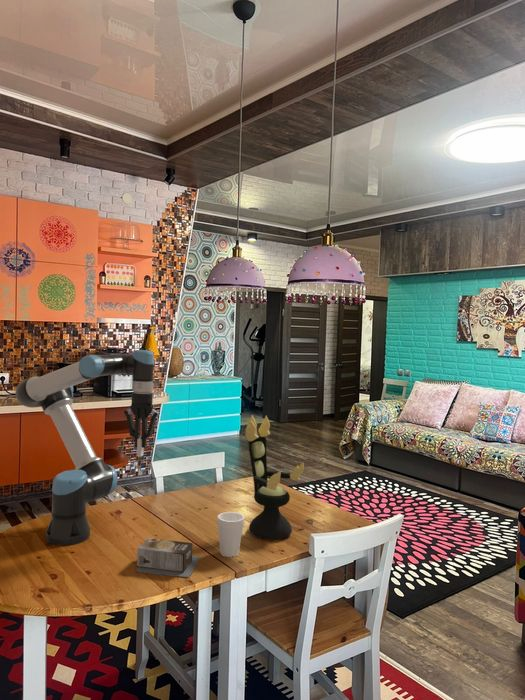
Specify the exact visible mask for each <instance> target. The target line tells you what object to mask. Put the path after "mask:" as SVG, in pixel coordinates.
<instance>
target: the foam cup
mask: <svg viewBox="0 0 525 700" xmlns="http://www.w3.org/2000/svg"><path fill="white" fill-rule="evenodd" d="M245 519H246V518H245V516H244V515H243V514H242V513H240V512H235V511H226V512H221V513H220V514H218V515H217V519H216V520H217V521H216V523H217V529H218V540H219V552H220V555H221V554H222V555H221V556H223V557H225V556H227V557H226V558H233V557H232V556H234V557H237V556H238V555H239V553H240V546H241V542H242V541H241V540H242V535H243V530H244V529H243V528H244V525H245ZM236 555H237V556H236Z"/></svg>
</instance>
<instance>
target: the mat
mask: <svg viewBox="0 0 525 700" xmlns="http://www.w3.org/2000/svg"><path fill="white" fill-rule="evenodd" d="M200 559H201V556H200V555H199V556H197V555H192V562H191V563H190V564H189V566H188V567H187V568H186V570H185V571H184V572H178V571H171V570H163V569H156V568H148V567H141V566H138V568H137V569H136V571H135V573H140V574H147V573H148V574H149V575H158V576H167V577H169V576H170V577H175V576H177V578H185V577H189V578H190V577H191V576H190V575H192V574H191V573H193V572H194V570H195V568H196V567H197V565H198V563H199V562H200ZM195 566H196V567H195ZM178 576H179V577H178Z"/></svg>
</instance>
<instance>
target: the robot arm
mask: <svg viewBox="0 0 525 700" xmlns="http://www.w3.org/2000/svg"><path fill="white" fill-rule="evenodd" d="M154 368H155V354H154V351H152V350H148V349H147V350H146V349H145V350H144V349H135V350H133V353H132V354H125V353H119V352H118V353H116V352H115V353H110V354H90V355H85V356H83V357H82V358H81V359H80V360H79V361H77V362H74V363H71V364H70V365H67V366H64V367H62V368H59V369H56V370H54V371H51V372H48V373H45V374H43V375H42V376H37V375H36V376H32V377H29V378H25V379H22V380H21V382H19V384H17V386H16V388H15V397H16V399H17V402H18V403H19V404H20V405H22V406H24V407H26V408H34V409H35V408H42V411H43V412H44V414H45V415H47V416H50V418H51V420H52V421H53V424H54V426H55V428H56V430H57V431H58V434H59V436H60V438H61V440H62V442H63V444H64V446H65V448H66V450H67V452H68V454H69V456H70V459H71V460H72V462H73V464H74V467H75V469H70V470H64V471H62V472H60V473H58V474H56V476H54V478H53V480H52V488H51V492H52V493H51V494H52V495H51V518H50V521H49V524H48V526H47V530H46V531H45V541H46V542H47V543H48V544H51V545H56V546H68V545H69V546H70V545H76V544H80V543H83V542H85V541H86V540H88V539H89V538H90V536H91V528H90V524H89V521H88V518H87V514H86V513H87V512H86V511H87V504H89V503H91V502H94V501H96V500H99V499H104V498H105V497H107V496H109V495H111V494H112V493H113V492H114V491H115V490H116V488H117V487H118V486H117V485H118V473H117V471H116V469H115V468H114V467H113V465H109V464H106V463H105V462H104V459H103V458H102V457H98V456H97V454H96V452H95V450H94V448H93V446H92V445H91V442H90V441H89V438H88V436H87V435H86V433H85V430H84V428H83V426H82V425H81V423H80V421H79V419H78V417H77V414H76V413H75V411H74V409H73V407H72V405H73V403H74V399H73V398H74V393H73V392H74V390H75V389H74V386H77V385H79V384H81V383H82V384H83V383H85V382H87V381H90V380H94V379H97V378H98V377H99V378H100V377H104V376H117V375H129V376H132V378H131V380H132V381H131V391H132V393H131V404H130V407H129V408H128V409H126V410H124V411H123V413H124V415H125V418H126V421H127V426H128V432H129V436H130V437H132V438H134V447H135V448H136V457H138V458H140V457H141V458H142V457H143V456H144V452H145V451H144V449H145V448H146V446H147V439H148V438H149V439H150V438H151V437H152V435H153V431H154V429H155V425H156V420H157V419H158V416H159V414H160V412H159V411H156V410H155V409H154V405H153V400H154V399H153V396H154V395H153V393H152V392H153V391H154V370H155V369H154ZM133 415H134V418H133ZM150 415H151V418H150V421H149V424H148V420H149V416H150Z"/></svg>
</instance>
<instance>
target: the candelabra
mask: <svg viewBox="0 0 525 700" xmlns="http://www.w3.org/2000/svg"><path fill="white" fill-rule="evenodd" d="M257 427H258V424H257V422H256V420H255V417H254V415H253V414H252V415H251V416H250V420H248V423H247V425H246V428H245V435H244V436H245V438H246V439H247V441H248V444H247V445H248V452H249V459H250V465H251V470H252V472H251V473H252V479H253V487H254V488H253V489H254V494H253V495H254V496H253V498H254V502H256V504H259V506H263V510H262V511H261V512H260V513H259V514H258V515H256V516H255V517H254V518H253V519H252V520H251V522H250V523H249V526H248V531H249V532H250V533H251V534H252V536H254V537H255V538H259V539H262V540H267V541H276V540H283V539H286V538H287V537H289V536H290V535H291V534H292V532H293V530H292V529H293V528H292V525H291V524H290V522H289V520H288V519H287V518H286V516H284V515H283V514H282V512H280V507H284V506H286V505H287V504H288V503H290V500H291V496H290V495H291V494H289V492H288V491H287V490H286V489H285V488H284V487H282V486H281V485H279V484H280V483H281V479H286V480H287V479H289V480H293V481H300V482H301V478H300V476H301V475H302V474H304V469H305V467H304V466H305V462H301V463H300V465H298V464H297V465H296V466H295V467H294V468H293V469H292V471H291V472H286V471H284V472H283V471H281V470H279V471H277V470H268V468H267V467H268V466H267V465H268V463H267V460H268V459H267V453H268V452H267V437H268V436H269V435H271V432H270V429H271V424H270V420H269V418H268V415H265V417H264V419H263V420H262V422H261V424H260V427H259V428H258V429H257ZM258 434H259V435H258ZM268 477H270V478H269V479H268Z"/></svg>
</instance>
